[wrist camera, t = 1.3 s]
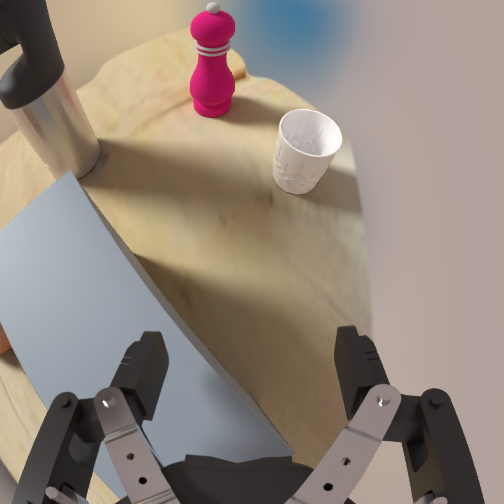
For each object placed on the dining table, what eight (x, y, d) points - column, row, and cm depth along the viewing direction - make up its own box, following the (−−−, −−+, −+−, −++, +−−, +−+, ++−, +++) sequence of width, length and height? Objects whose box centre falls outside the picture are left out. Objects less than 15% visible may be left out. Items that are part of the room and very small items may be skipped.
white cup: (311, 152, 45) (330, 108, 36) (327, 195, 43) (351, 155, 33) (262, 156, 44) (272, 109, 35) (274, 201, 42) (289, 158, 32)
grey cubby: (190, 455, 30) (164, 538, 12) (72, 302, 34) (-23, 255, 16) (258, 403, 33) (294, 452, 15) (132, 252, 37) (70, 169, 19)
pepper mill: (240, 113, 47) (251, 9, 28) (198, 124, 45) (194, 17, 26) (224, 88, 49) (229, -9, 30) (185, 98, 47) (178, -1, 28)
